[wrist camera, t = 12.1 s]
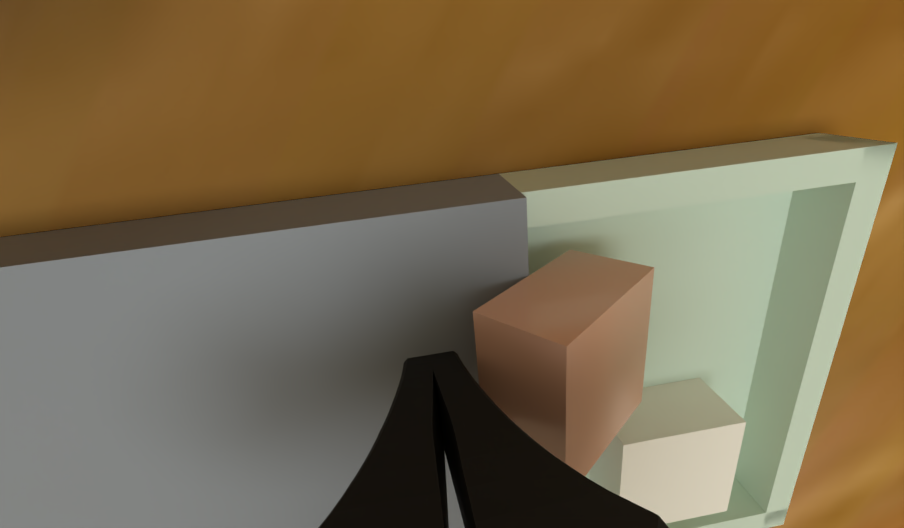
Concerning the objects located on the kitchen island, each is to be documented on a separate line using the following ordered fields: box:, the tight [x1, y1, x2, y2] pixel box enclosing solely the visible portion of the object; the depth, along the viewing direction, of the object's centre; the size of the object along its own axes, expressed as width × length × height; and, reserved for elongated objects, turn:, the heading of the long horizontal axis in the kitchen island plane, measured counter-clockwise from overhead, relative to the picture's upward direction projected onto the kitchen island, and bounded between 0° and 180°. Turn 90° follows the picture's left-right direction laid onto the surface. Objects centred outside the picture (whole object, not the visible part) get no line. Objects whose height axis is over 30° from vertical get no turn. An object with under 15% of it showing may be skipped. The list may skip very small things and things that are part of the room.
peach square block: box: [473, 250, 654, 476], centre depth 12 cm, size 4×4×2 cm
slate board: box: [0, 174, 529, 528], centre depth 15 cm, size 16×16×3 cm
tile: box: [589, 378, 746, 524], centre depth 17 cm, size 4×4×2 cm
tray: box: [499, 133, 897, 528], centre depth 16 cm, size 16×11×2 cm
